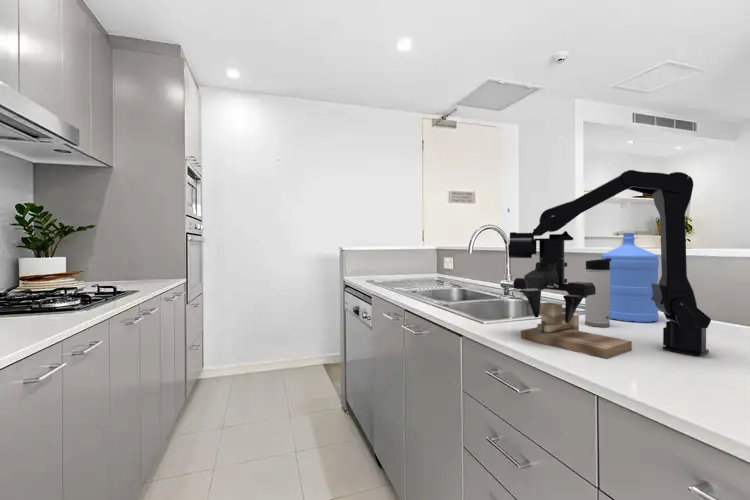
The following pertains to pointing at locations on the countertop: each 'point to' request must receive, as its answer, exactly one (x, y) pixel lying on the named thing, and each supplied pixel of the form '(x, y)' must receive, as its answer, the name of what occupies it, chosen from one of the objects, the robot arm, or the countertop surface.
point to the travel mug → (598, 293)
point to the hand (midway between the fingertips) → (551, 319)
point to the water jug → (632, 282)
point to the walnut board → (579, 342)
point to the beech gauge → (556, 318)
